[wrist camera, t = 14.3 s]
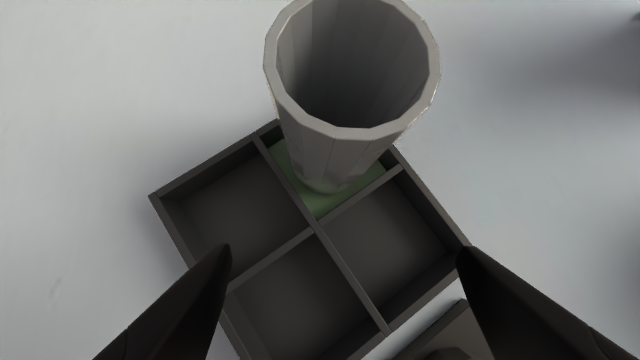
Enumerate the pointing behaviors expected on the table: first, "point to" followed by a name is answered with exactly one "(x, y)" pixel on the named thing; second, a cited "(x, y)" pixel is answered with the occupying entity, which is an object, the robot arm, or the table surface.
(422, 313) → the table surface
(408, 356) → the block
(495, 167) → the table surface
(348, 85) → the tumbler
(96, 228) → the table surface
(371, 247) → the divided tray
